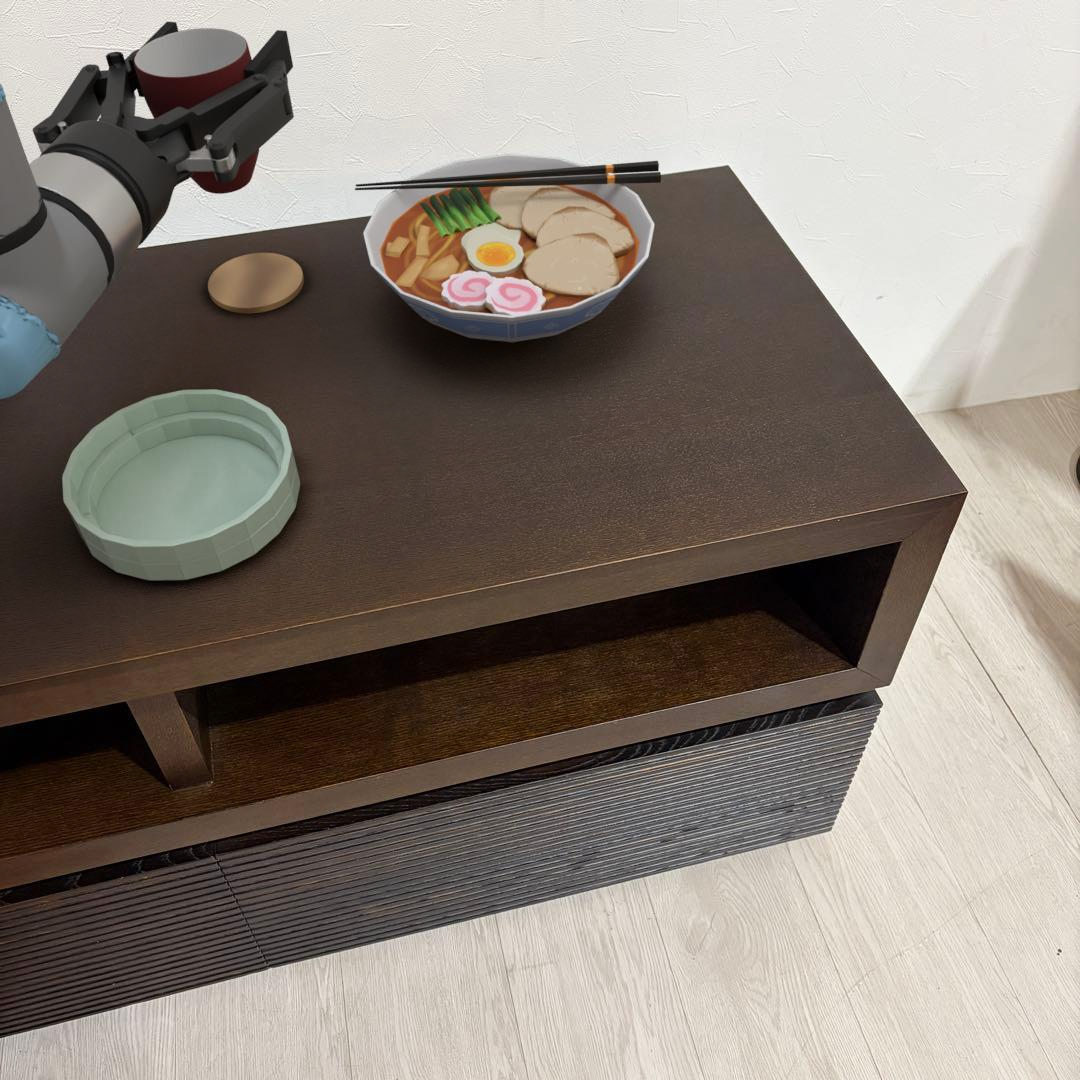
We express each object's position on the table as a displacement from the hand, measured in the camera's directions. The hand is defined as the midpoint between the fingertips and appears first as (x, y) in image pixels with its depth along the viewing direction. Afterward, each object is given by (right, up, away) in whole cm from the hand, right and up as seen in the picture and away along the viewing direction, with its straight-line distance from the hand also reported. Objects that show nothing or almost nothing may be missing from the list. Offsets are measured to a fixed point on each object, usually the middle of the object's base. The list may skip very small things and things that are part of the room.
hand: (230, 44), depth 83 cm
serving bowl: (-1, -35, -6) cm, 36 cm away
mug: (-1, -9, +3) cm, 9 cm away
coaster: (-1, -16, +11) cm, 19 cm away
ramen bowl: (+21, -18, +9) cm, 29 cm away
